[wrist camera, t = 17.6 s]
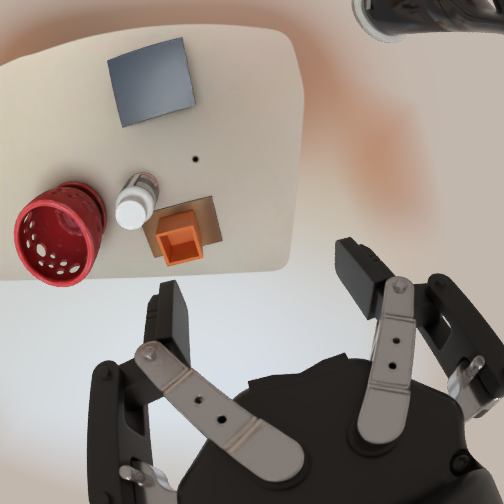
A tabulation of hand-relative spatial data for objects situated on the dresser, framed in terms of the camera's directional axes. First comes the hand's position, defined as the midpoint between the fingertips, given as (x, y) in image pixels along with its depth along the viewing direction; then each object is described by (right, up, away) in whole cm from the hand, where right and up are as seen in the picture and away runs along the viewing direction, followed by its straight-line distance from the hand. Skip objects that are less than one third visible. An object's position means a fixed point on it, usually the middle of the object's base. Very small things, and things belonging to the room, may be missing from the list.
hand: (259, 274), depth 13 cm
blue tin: (-13, +24, +18) cm, 33 cm away
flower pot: (-29, +8, +25) cm, 39 cm away
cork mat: (-12, +5, +30) cm, 33 cm away
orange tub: (-12, +5, +30) cm, 32 cm away
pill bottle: (-17, +11, +26) cm, 33 cm away
